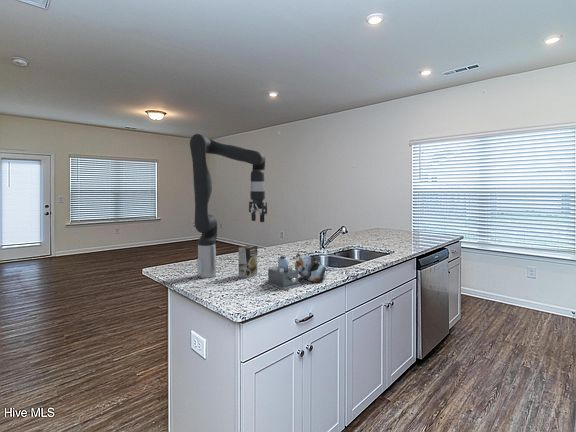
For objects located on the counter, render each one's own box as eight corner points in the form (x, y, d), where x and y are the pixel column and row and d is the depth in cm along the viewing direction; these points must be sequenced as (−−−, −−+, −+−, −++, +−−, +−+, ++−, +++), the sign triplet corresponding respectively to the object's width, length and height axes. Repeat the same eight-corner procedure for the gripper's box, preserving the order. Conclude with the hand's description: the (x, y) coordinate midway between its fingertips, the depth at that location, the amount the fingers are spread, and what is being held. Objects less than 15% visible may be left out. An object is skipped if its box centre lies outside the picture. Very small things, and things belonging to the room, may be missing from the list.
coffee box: (247, 278, 172) (247, 248, 170) (238, 276, 175) (237, 247, 174) (258, 274, 179) (257, 245, 178) (248, 272, 183) (248, 244, 181)
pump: (290, 270, 160) (290, 256, 160) (282, 272, 157) (282, 257, 157) (284, 268, 164) (284, 254, 164) (276, 270, 161) (276, 256, 161)
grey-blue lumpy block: (324, 284, 161) (310, 258, 158) (300, 291, 166) (286, 266, 163) (328, 266, 176) (316, 242, 173) (307, 274, 181) (294, 251, 178)
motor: (285, 290, 151) (285, 271, 150) (265, 282, 164) (265, 264, 163) (303, 286, 157) (303, 268, 156) (283, 278, 171) (283, 261, 170)
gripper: (271, 190, 165) (271, 222, 167) (256, 190, 177) (256, 220, 178) (258, 190, 161) (258, 223, 162) (244, 190, 172) (244, 220, 174)
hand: (257, 221), depth 170 cm, fingers open, 8 cm apart
